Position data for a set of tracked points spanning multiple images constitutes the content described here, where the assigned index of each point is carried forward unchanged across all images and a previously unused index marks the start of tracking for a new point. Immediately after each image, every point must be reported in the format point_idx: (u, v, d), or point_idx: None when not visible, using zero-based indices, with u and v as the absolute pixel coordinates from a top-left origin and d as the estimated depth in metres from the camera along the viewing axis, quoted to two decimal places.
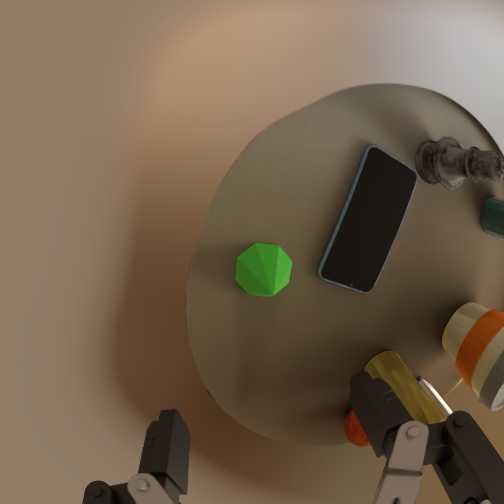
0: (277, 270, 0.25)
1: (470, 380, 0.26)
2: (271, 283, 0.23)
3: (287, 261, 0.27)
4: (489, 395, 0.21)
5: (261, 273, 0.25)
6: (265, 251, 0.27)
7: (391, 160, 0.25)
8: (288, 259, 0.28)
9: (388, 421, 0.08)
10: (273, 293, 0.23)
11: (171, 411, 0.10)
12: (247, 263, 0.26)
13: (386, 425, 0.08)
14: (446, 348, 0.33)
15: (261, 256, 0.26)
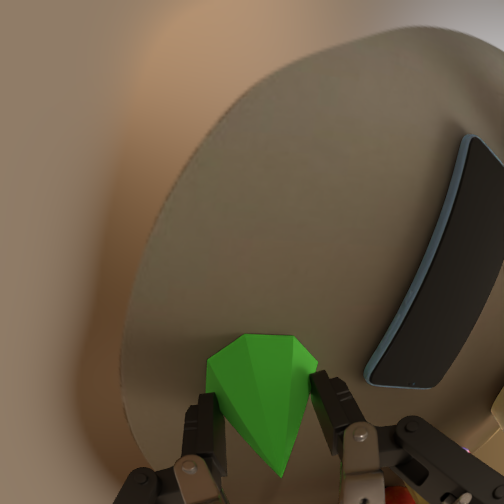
0: (290, 406, 0.10)
1: None
2: (278, 447, 0.08)
3: (310, 367, 0.12)
4: None
5: (255, 417, 0.10)
6: (265, 356, 0.12)
7: (497, 165, 0.10)
8: (311, 361, 0.13)
9: (337, 420, 0.09)
10: (281, 472, 0.08)
11: (209, 394, 0.11)
12: (226, 381, 0.11)
13: (334, 424, 0.08)
14: (496, 415, 0.18)
15: (255, 371, 0.11)
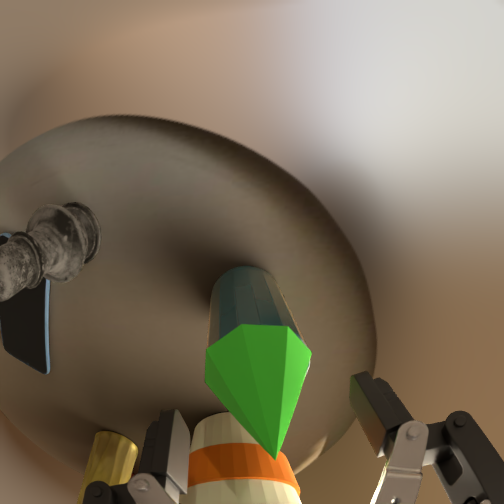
0: (284, 392, 0.11)
1: None
2: (272, 431, 0.09)
3: (303, 357, 0.13)
4: None
5: (251, 402, 0.10)
6: (261, 344, 0.12)
7: None
8: (305, 351, 0.14)
9: (388, 421, 0.08)
10: (275, 454, 0.09)
11: (171, 411, 0.10)
12: (223, 369, 0.12)
13: (386, 425, 0.08)
14: None
15: (251, 359, 0.12)
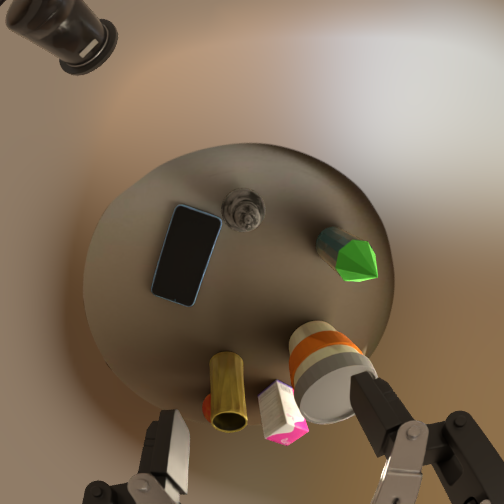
0: (373, 259, 0.32)
1: None
2: (373, 269, 0.30)
3: (373, 254, 0.34)
4: (298, 406, 0.35)
5: (364, 262, 0.31)
6: (361, 245, 0.33)
7: (194, 213, 0.39)
8: (373, 252, 0.35)
9: (388, 421, 0.08)
10: (377, 275, 0.29)
11: (171, 411, 0.10)
12: (349, 255, 0.33)
13: (386, 425, 0.08)
14: None
15: (360, 249, 0.33)
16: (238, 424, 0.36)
